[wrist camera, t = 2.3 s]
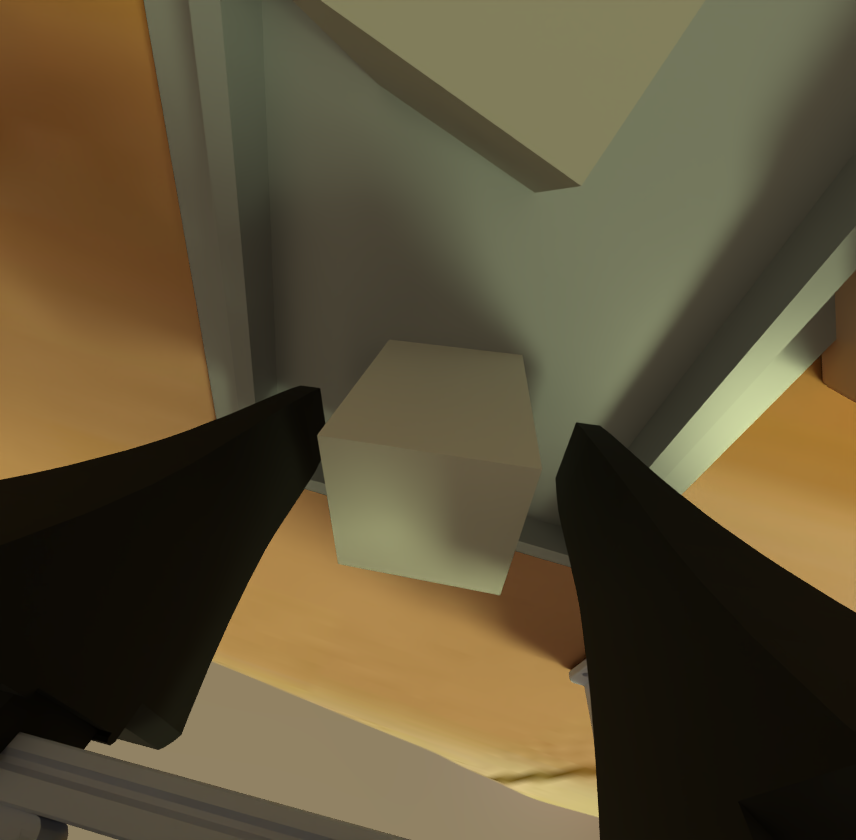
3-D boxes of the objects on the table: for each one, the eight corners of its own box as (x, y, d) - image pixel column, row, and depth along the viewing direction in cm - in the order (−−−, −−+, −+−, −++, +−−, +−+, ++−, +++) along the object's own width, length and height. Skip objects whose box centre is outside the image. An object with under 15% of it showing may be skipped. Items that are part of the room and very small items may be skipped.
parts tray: (617, 544, 14) (631, 585, 13) (227, 430, 14) (196, 456, 13) (1369, -242, 4) (1842, -480, 3) (70, -590, 4) (-146, -992, 3)
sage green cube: (498, 459, 12) (500, 595, 8) (390, 442, 12) (338, 563, 8) (522, 355, 10) (542, 469, 6) (389, 339, 10) (317, 435, 6)
